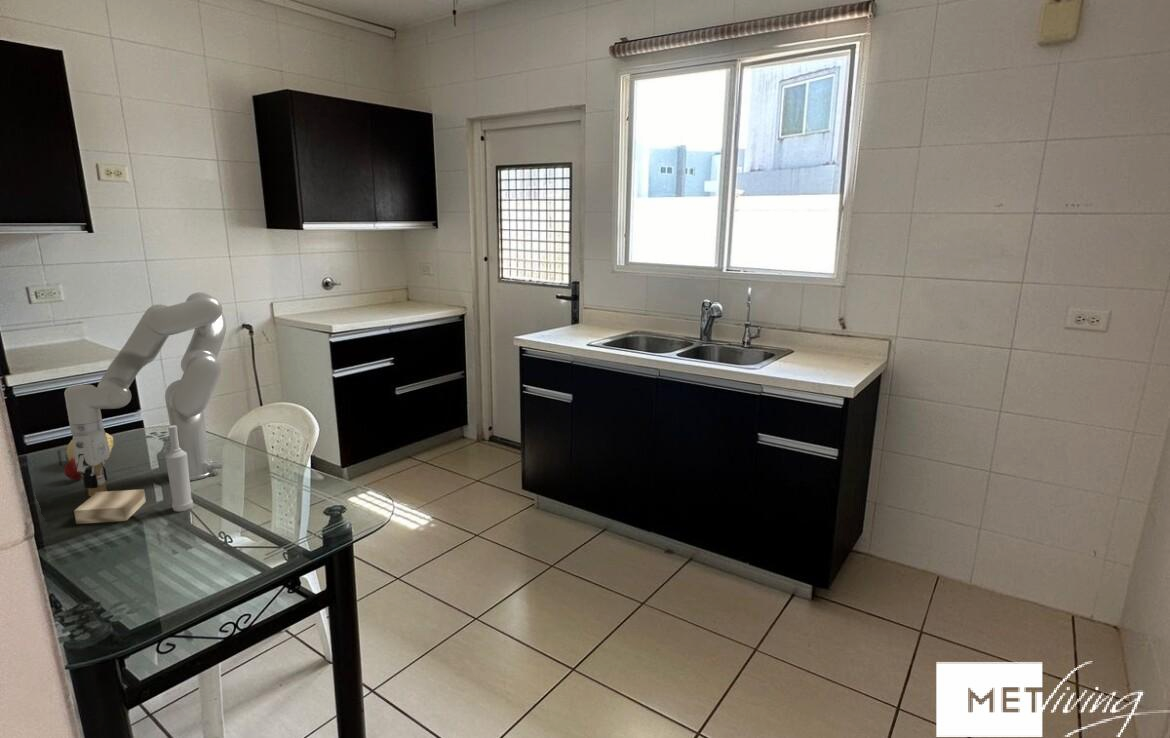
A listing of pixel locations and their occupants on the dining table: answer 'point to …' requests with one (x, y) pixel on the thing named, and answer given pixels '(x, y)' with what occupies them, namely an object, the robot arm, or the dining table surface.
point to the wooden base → (110, 506)
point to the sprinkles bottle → (98, 480)
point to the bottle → (178, 474)
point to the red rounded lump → (72, 470)
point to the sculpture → (71, 453)
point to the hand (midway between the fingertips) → (96, 483)
